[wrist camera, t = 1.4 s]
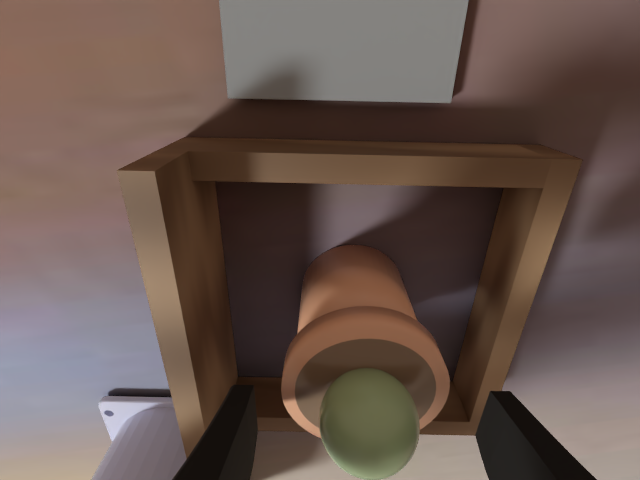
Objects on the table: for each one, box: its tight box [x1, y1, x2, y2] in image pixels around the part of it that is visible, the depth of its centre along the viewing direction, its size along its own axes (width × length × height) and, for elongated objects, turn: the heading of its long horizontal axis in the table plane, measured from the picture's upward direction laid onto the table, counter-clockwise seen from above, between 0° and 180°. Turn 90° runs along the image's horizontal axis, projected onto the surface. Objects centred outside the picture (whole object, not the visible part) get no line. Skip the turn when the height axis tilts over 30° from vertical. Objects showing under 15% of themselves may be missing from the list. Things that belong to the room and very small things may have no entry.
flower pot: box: [281, 245, 450, 480], centre depth 13 cm, size 6×6×8 cm
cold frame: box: [117, 137, 583, 458], centre depth 15 cm, size 14×14×5 cm
